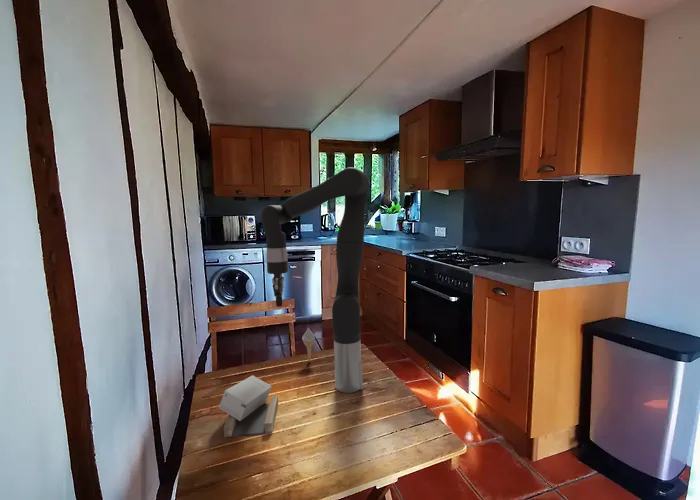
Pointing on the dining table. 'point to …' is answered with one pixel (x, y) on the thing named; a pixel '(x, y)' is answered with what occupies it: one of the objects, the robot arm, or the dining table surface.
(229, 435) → the rest
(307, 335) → the ice cream cone
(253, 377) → the skincare box
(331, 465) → the dining table surface
